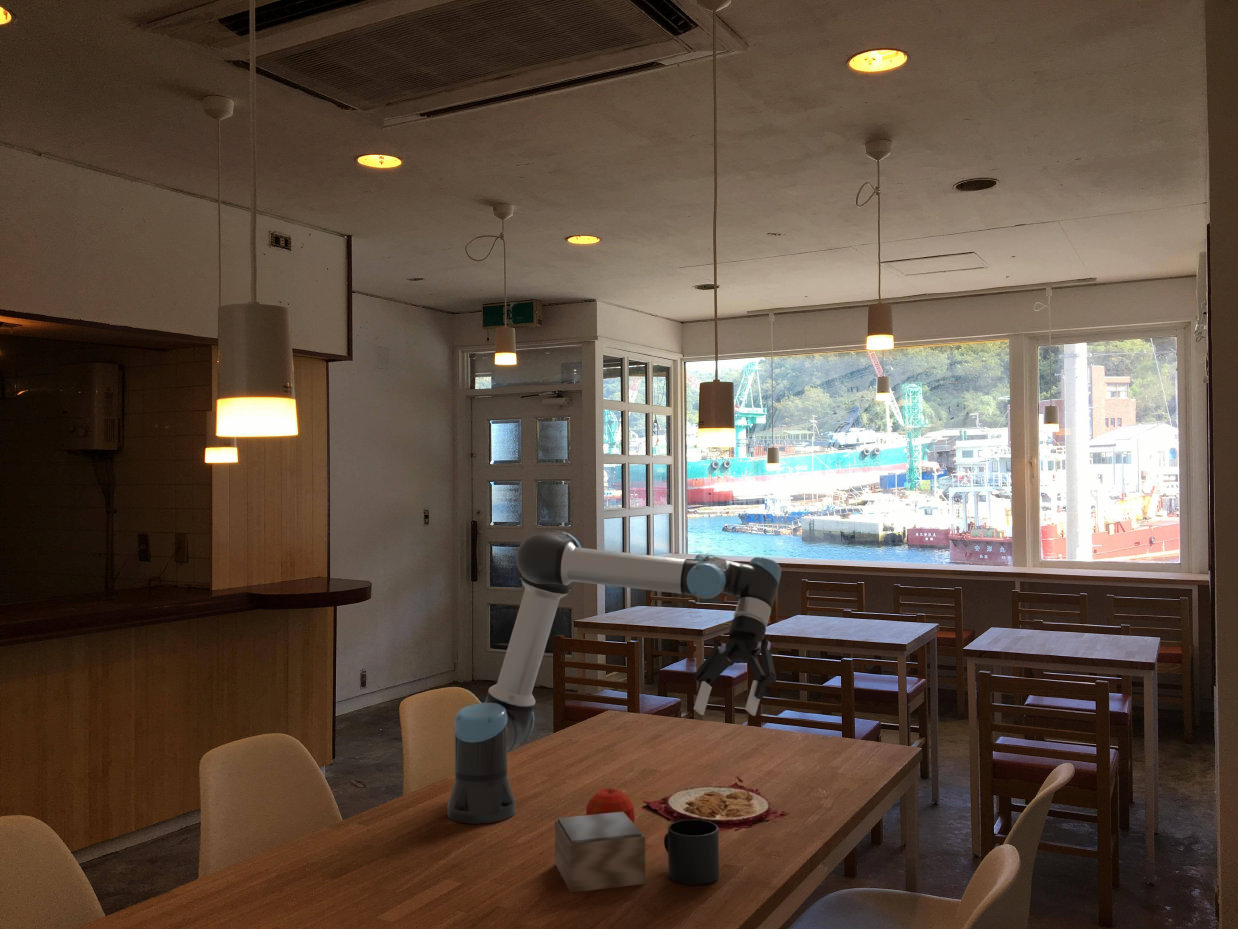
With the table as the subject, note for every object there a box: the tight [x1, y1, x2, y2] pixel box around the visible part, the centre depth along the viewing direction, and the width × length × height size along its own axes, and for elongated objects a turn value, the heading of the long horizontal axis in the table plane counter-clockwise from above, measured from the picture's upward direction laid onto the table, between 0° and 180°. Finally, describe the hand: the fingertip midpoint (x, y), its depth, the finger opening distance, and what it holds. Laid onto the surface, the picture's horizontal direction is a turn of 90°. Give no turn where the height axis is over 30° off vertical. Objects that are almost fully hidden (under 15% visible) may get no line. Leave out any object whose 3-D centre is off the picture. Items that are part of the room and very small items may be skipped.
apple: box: [585, 787, 636, 823], centre depth 202 cm, size 10×10×12 cm
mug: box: [663, 819, 720, 886], centre depth 185 cm, size 9×12×9 cm
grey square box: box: [554, 812, 646, 893], centre depth 186 cm, size 14×14×9 cm
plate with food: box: [642, 775, 790, 832], centre depth 222 cm, size 25×26×4 cm
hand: (723, 712), depth 205 cm, fingers open, 13 cm apart
